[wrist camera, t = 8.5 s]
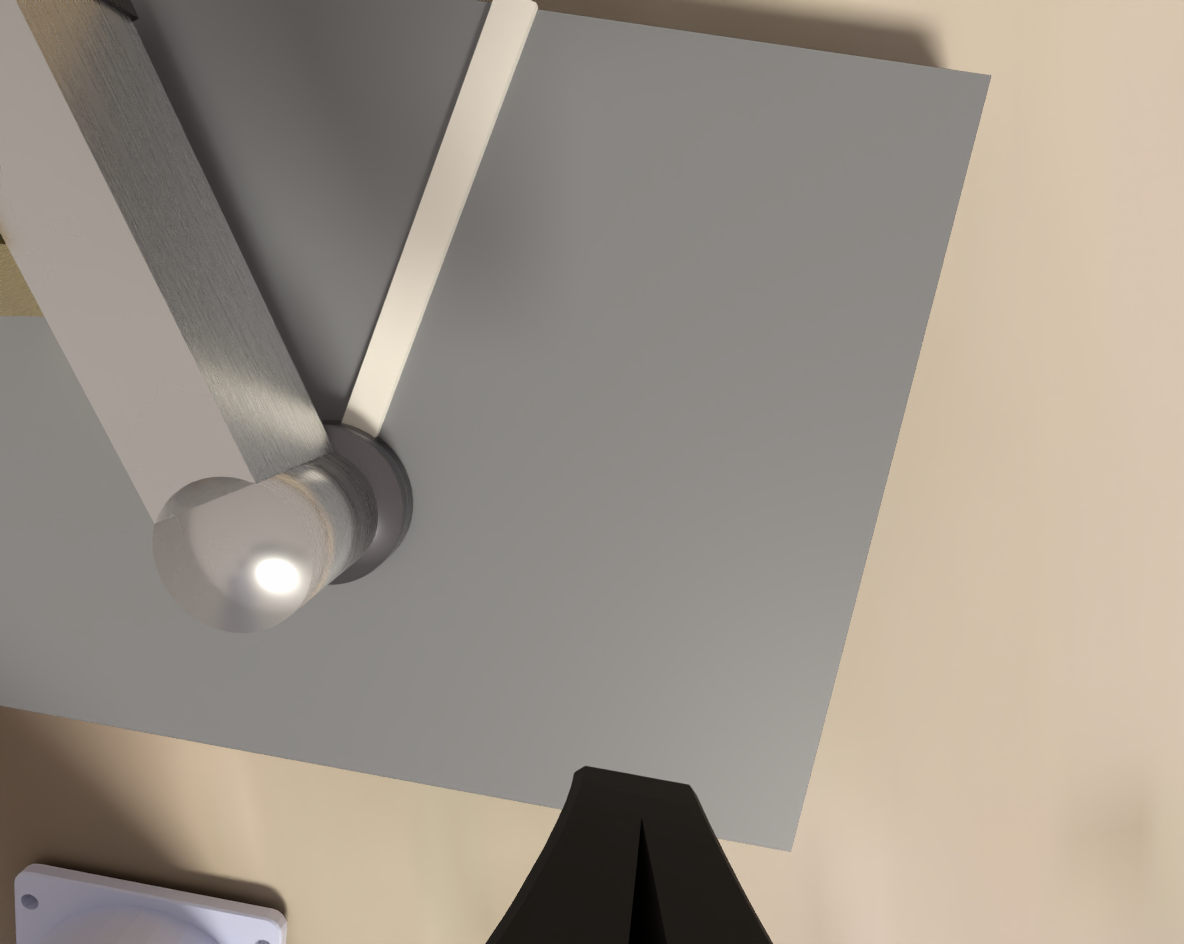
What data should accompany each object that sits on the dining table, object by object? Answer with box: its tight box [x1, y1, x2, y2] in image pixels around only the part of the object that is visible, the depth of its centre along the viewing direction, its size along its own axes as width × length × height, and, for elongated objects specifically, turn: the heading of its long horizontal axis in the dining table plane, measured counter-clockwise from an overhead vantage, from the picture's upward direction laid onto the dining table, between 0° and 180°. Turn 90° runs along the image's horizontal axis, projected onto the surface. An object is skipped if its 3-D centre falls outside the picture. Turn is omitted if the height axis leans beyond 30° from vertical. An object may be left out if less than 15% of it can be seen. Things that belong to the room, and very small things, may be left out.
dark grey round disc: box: [321, 420, 413, 585], centre depth 15 cm, size 4×4×1 cm
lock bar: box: [0, 0, 378, 633], centre depth 12 cm, size 12×3×3 cm, turn 22°
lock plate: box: [0, 0, 991, 852], centre depth 16 cm, size 18×22×2 cm
